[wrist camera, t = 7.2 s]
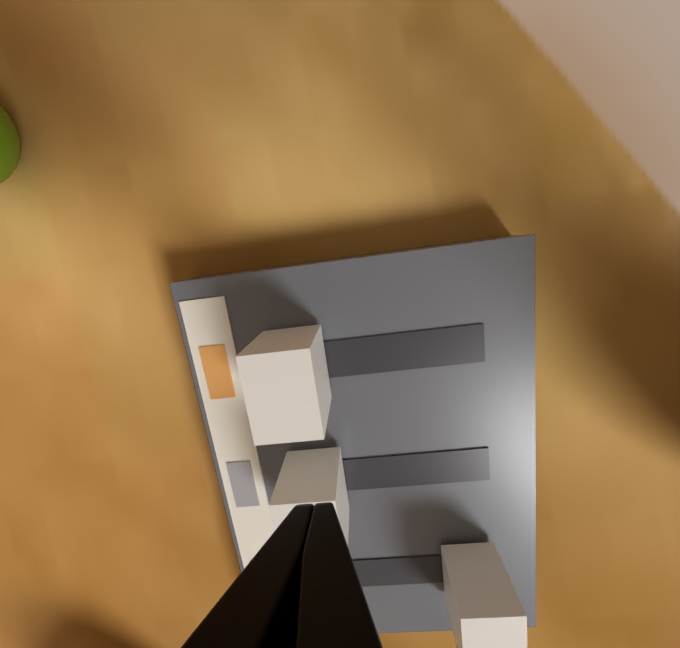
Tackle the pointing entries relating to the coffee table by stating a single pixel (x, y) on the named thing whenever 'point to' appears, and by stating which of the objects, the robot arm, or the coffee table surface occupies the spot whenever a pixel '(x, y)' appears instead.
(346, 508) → the middle slider
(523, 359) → the switch panel
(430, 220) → the coffee table surface
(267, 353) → the near slider
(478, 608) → the far slider
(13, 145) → the snail figurine
